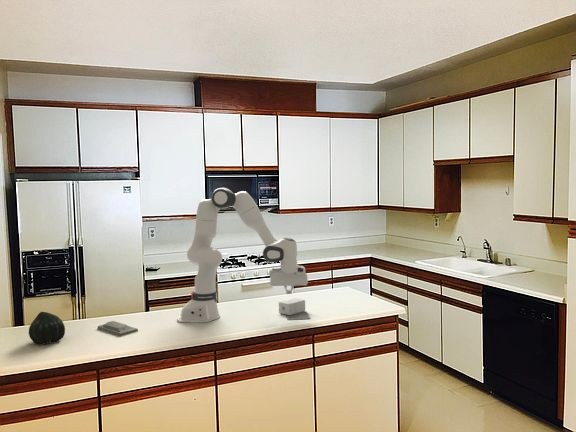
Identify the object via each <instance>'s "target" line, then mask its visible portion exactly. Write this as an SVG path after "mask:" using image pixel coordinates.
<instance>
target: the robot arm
mask: <svg viewBox="0 0 576 432" xmlns="http://www.w3.org/2000/svg"><path fill="white" fill-rule="evenodd" d="M228 208H233V209H235V211H236V212H237V214H238V216H239V218H240V219H241V221H242V222H243V224H244V225H246V227H248V228H250V229H252V230H254V231H255V232H256V233H257V235H258V236H259V238H260V240H261V241H262V242H263V244H264V246H265V247H264V249H263V251H262V257H263V258H264V260H265V261H266V262H268V263H276V262H280V267H279V268H271V269H270V270H269V277H270V279H269V284H270V287H271V286H272V287H283V288H284V289H285V293H286V295H292V294H293V290H294V287H297V286H298V287H299V286H307V285H308V282H309V279H308V274H307V272H306V268H305V266H303V265H301V264H298V261H297V256H298V246H297V241H296V240H295V239H293V238H291V237H282V238H281V239H279V240H277V239H276V238H275V236H273V234H272V233H271V231H270V229H269V227H268V226H267V224H266V222H265V220H264V217H263V215H262V212H261V210H260V208H259V207H258V205H257V203H256V201H255V199H253V197H252V196H251V195H250V194H249V193H248V191H246V190H245V191H244V190H242V191H238V192H237V193H234V192H233V191H232V190H230V189H229V188H228V187H219V188H216V189H214V191H213V192H212V194H211V198H209V199H202V200H201V201H199V203H198V206H197V210H196V217H195V229H194V230H195V232H194V236H193V240H192V243H191V246H190V247H189V248H188V250H187V251H186V252H187V253H186V257H187V259H188V261H189V262H191V263H192V264H194V265H196V266H198V271H197V274H196V275H195V277H194V291H193V290H192V291H191V292H190V297H191V299H190V300H189V301H188V302H187V303H186V304H184V305H183V307H182V309H181V312H180V314H178V316H177V317H176V318H177V322H178V323H208V322H211V321H214V320H217V319H219V318H221V315H220V312H219V308H218V302H217V301H218V291H217V288H216V287H217V286H216V285H217V282H216V281H217V280H216V279H217V271H218V268H219V267H220V265H221V264H222V262H223V255H222V252H221V251H220V250H218V249H217V248H215V247H212V246H211V245H212V242H213V240H214V238H215V237H216V235H217V226H218V225H217V223H218V215H219V214H218V213H219V211H220V210H223V209H228ZM288 286H289V287H290V289H287V288H288Z"/></svg>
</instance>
